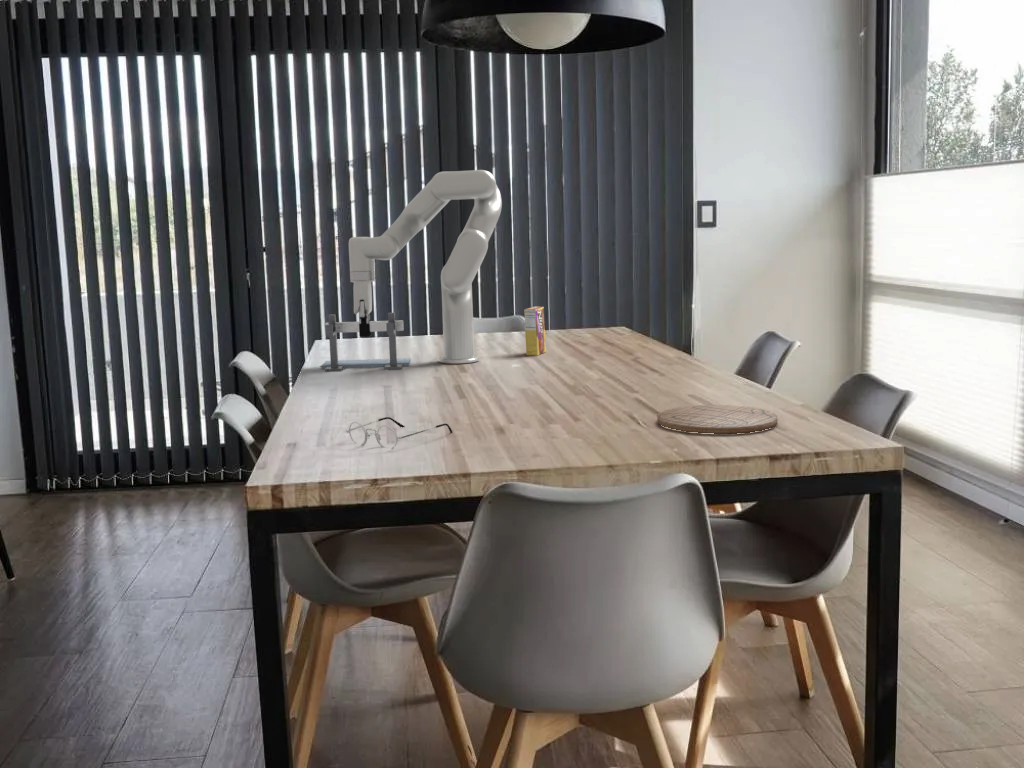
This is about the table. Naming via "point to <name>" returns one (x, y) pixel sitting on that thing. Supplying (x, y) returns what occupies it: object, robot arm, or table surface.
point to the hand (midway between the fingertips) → (365, 335)
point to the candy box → (535, 331)
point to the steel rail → (373, 324)
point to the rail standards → (334, 352)
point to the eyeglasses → (389, 427)
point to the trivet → (717, 419)
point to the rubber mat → (367, 363)
